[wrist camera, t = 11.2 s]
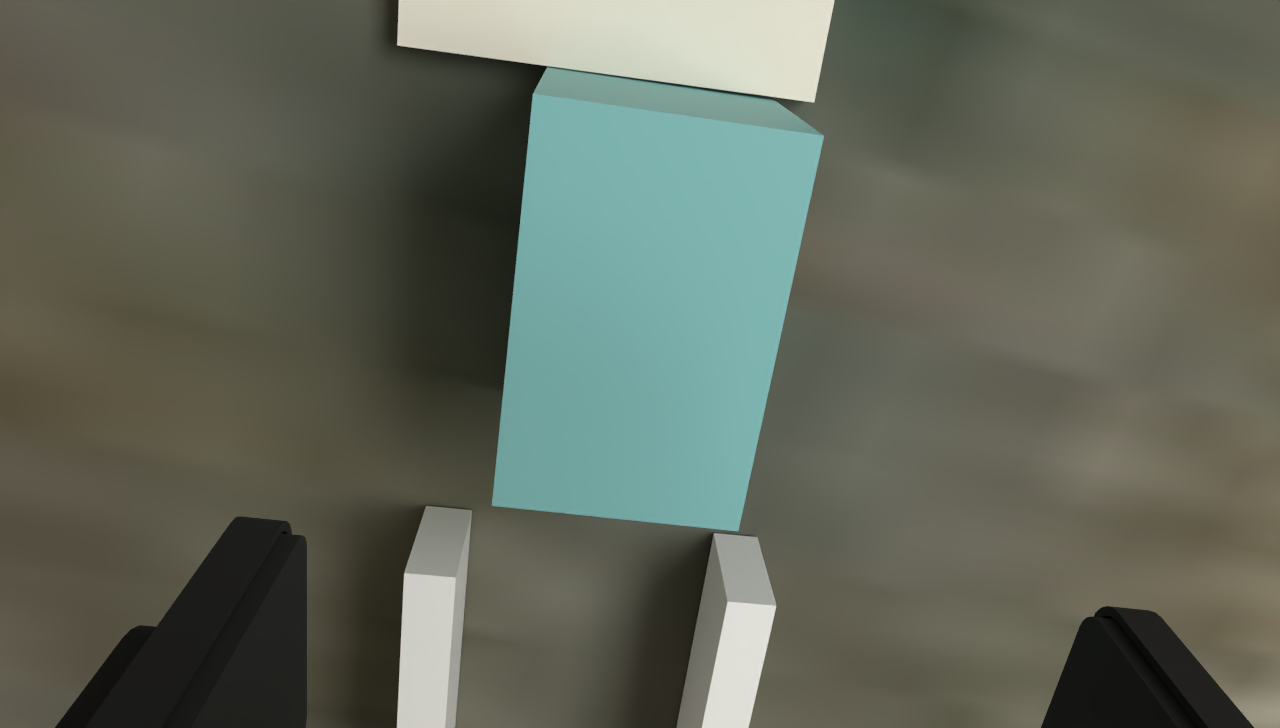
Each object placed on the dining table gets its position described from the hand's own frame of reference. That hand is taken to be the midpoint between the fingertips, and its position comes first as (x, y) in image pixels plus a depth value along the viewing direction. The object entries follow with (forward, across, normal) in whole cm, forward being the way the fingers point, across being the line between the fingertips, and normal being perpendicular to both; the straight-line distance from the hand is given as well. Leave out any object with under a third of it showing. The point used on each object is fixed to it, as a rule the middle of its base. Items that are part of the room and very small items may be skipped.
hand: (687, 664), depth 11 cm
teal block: (+13, +1, -1) cm, 13 cm away
